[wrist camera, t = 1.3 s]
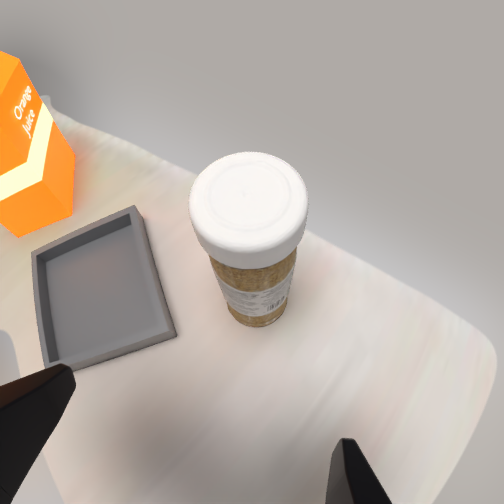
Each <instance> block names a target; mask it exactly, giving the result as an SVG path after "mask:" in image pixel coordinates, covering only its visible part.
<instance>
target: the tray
mask: <svg viewBox="0 0 504 504" xmlns="http://www.w3.org/2000/svg"><path fill="white" fill-rule="evenodd" d="M31 258H32V277H33V290H34V301H35V310H36V318H37V326H38V332H39V339H40V345H41V351H42V356H43V361H44V366H45V369H46V368H49V367H51V366H54V365H57V364H59V363H63V364H65V365H67V366H70V367H71V369H72V371H76V370H79V369H83V368H86V367H89V366H92V365H95V364H98V363H101V362H104V361H108V360H111V359H114V358H117V357H120V356H123V355H126V354H128V353H131V352H134V351H137V350H140V349H143V348H146V347H149V346H152V345H155V344H157V343H160V342H163V341H166V340H169V339H171V338H174V337H177V334H176V331H175V328H174V325H173V322H172V319H171V316H170V313H169V309H168V306H167V303H166V300H165V297H164V293H163V290H162V287H161V283H160V280H159V277H158V273H157V270H156V266H155V263H154V259H153V255H152V252H151V248H150V244H149V240H148V237H147V233H146V229H145V225H144V221H143V218H142V216H141V215H140V213H139V211H138V210H137V208H136V206H135V205H133V206H131V207H128V208H126V209H123V210H121V211H119V212H116V213H114V214H112V215H109V216H107V217H105V218H102V219H100V220H98V221H96V222H93V223H91V224H89V225H87V226H85V227H82V228H80V229H78V230H76V231H74V232H71V233H69V234H67V235H65V236H63V237H61V238H59V239H57V240H55V241H53V242H51V243H48V244H46V245H44V246H42V247H40V248H38V249H36V250H34V251H32V252H31Z"/></svg>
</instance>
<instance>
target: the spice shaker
mask: <svg viewBox="0 0 504 504" xmlns="http://www.w3.org/2000/svg"><path fill="white" fill-rule="evenodd" d="M308 202H309V198H308V193H307V189H306V186H305V183H304V181H303V179H302V178H301V176H300V175H299V174H298V172H297V171H296V170H295V169H294V168H293V167H292V166H291V165H289V164H288V163H287V162H285V161H283V160H282V159H279V158H277V157H275V156H273V155H269V154H265V153H259V152H241V153H235V154H231V155H228V156H225V157H223V158H220V159H219V160H217V161H215V162H213V163H212V164H211V165H209V166H208V167H207V168H205V169H204V170H203V171H202V172H201V174H200V175H199V176H198V177H197V179H196V180H195V182H194V184H193V186H192V188H191V191H190V194H189V201H188V210H189V215H190V219H191V222H192V225H193V228H194V231H195V233H196V236H197V238H198V241H199V242H200V244H201V246H202V247H203V249H204V250H205V251H206V252H207V253H208V254H209V257H210V261H211V265H212V268H213V270H214V273H215V275H216V278H217V280H218V283H219V285H220V288H221V290H222V293H223V295H224V297H225V299H226V301H227V305H228V309H229V311H230V313H231V314H232V315H233V317H234V318H235V319H236V320H238V321H239V322H240V323H242V324H244V325H246V326H252V327H261V326H266V325H268V324H271V323H272V322H274V321H275V320H277V319H278V317H279V316H281V315H282V313H283V311H284V309H285V307H286V304H287V295H288V292H289V289H290V284H291V280H292V275H293V271H294V266H295V262H296V254H297V251H296V249H297V245H298V244H299V242H300V240H301V239H302V236H303V234H304V230H305V225H306V219H307V213H308V205H309V203H308Z"/></svg>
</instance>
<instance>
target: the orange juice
mask: <svg viewBox="0 0 504 504" xmlns="http://www.w3.org/2000/svg"><path fill="white" fill-rule="evenodd" d="M74 164H75V154H74V153H73V151H72V150H71V148H70V146H69V145H68V143H67V142H66V140H65V139H64V137H63V135H62V134H61V132H60V131H59V129H58V127H57V126H56V124H55V122H54V121H53V118H52V117H51V115H50V113H49V111H48V110H47V108H46V106H45V105H44V103H43V102H42V101H41V99H40V97H39V95H38V94H37V92H36V90H35V88H34V87H33V85H32V83H31V81H30V79H29V78H28V76H27V74H26V72H25V70H24V68H23V66H22V65H21V63H20V59H18V58H15V57H13V56H10V55H8V54H6V53H3V52H1V51H0V223H1V224H2V225H4V226H5V227H6V228H7V229H8V230H9V231H11V232H12V233H13V234H14V235H15V236H17V237H18V238H19V237H21V236H23V235H25V234H28V233H30V232H32V231H35V230H37V229H39V228H42V227H44V226H46V225H49V224H51V223H54V222H56V221H59V220H61V219H64V218H66V217H69V216H71V215H72V197H73V178H74Z"/></svg>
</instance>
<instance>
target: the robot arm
mask: <svg viewBox="0 0 504 504" xmlns="http://www.w3.org/2000/svg"><path fill="white" fill-rule="evenodd" d="M75 388H76V382H75V378H74V375H73V371H72V369H71V367H70V366H67V365H65V364H63V363H59V364H57V365H54V366H51V367H49V368H46V369H44V370H41V371H39V372H36V373H33V374H31V375H28V376H26V377H23V378H20V379H18V380H15V381H13V382H10V383H7V384H5V385H2V386H0V504H11V502H12V500H13V498H14V496H15V494H16V493H17V491H18V489H19V487H20V485H21V484H22V482H23V480H24V478H25V477H26V475H27V473H28V471H29V470H30V468H31V466H32V465H33V463H34V461H35V460H36V458H37V456H38V455H39V453H40V451H41V450H42V448H43V446H44V445H45V443H46V442H47V440H48V438H49V437H50V435H51V434H52V432H53V430H54V429H55V427H56V426H57V424H58V422H59V420H60V419H61V417H62V415H63V413H64V411H65V408H66V406H67V404H68V402H69V400H70V398H71V396H72V394H73V392H74V390H75ZM325 504H392V502H391V501H390V499H389V497H388V496H387V494H386V492H385V491H384V489H383V487H382V485H381V484H380V482H379V480H378V479H377V477H376V475H375V473H374V472H373V470H372V468H371V467H370V465H369V463H368V462H367V460H366V458H365V456H364V455H363V453H362V451H361V450H360V448H359V446H358V444H357V443H356V441H355V440H354V439H351V438H341V439H340V440H339V442H338V444H337V446H336V448H335V449H334V451H333V453H332V457H331V464H330V472H329V479H328V486H327V492H326V502H325Z"/></svg>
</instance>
